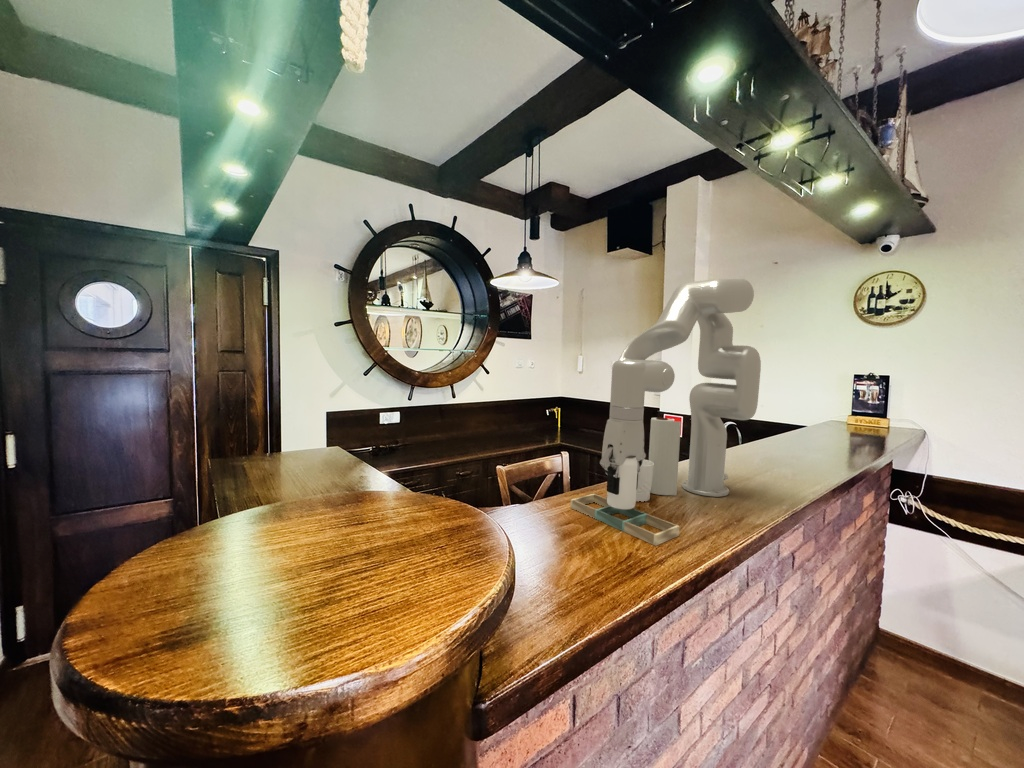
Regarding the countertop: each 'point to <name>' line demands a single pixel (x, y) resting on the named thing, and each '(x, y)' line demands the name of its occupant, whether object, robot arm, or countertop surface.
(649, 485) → the white cup
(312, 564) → the countertop surface
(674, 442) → the paper towel roll
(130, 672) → the countertop surface
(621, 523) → the slot rack
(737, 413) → the robot arm
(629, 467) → the can
